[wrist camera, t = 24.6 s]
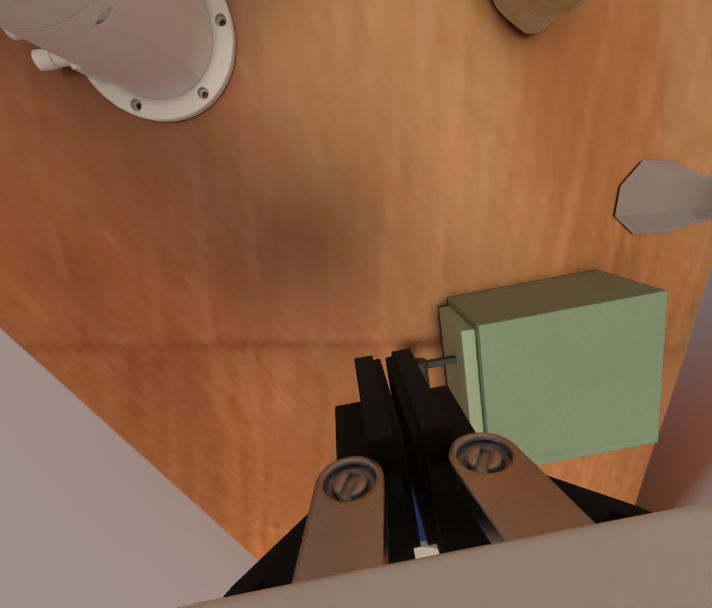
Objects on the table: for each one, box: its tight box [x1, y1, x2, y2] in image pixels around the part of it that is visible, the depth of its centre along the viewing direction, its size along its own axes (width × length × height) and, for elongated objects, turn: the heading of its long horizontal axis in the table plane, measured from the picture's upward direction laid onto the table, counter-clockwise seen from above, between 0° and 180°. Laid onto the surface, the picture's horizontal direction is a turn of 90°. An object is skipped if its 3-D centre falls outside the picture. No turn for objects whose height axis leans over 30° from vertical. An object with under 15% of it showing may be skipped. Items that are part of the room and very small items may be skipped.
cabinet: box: [448, 270, 667, 466], centre depth 37 cm, size 16×15×9 cm
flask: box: [615, 160, 712, 234], centre depth 33 cm, size 7×7×10 cm
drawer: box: [415, 306, 485, 432], centre depth 37 cm, size 19×13×7 cm
